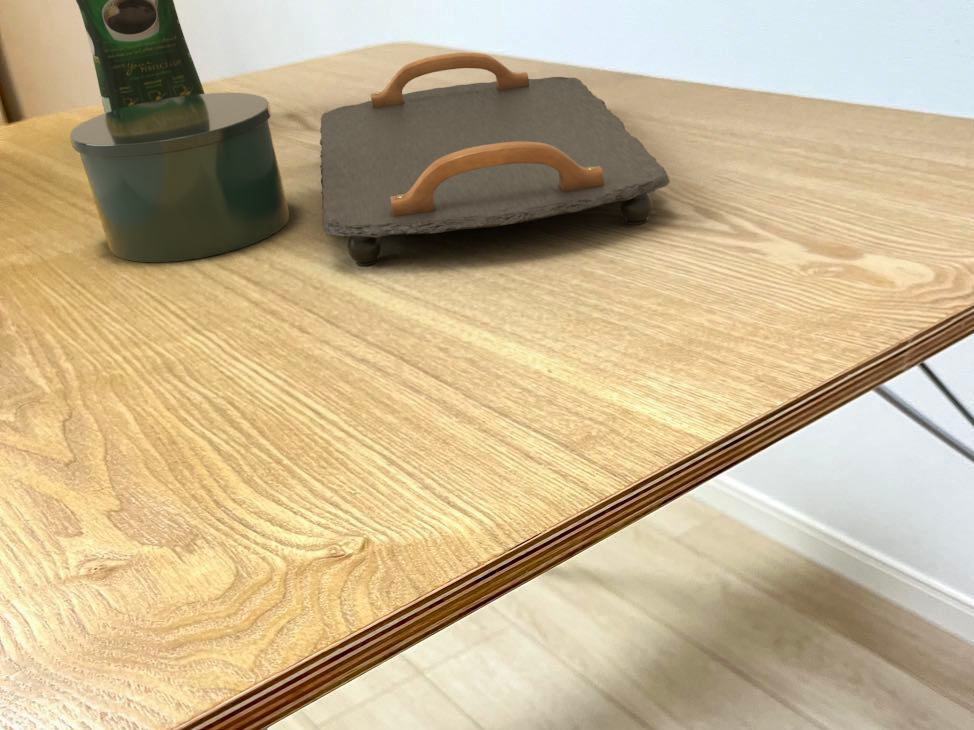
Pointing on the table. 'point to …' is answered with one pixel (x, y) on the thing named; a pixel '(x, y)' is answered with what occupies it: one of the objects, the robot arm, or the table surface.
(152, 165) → the canister
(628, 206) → the serving tray
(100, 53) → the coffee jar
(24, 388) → the table surface
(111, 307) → the table surface
